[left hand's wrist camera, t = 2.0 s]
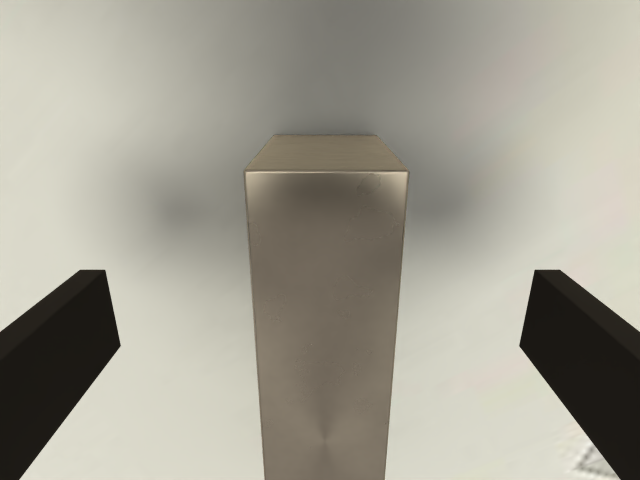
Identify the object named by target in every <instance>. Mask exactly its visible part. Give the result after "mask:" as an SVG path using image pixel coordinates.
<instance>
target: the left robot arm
mask: <svg viewBox="0 0 640 480" xmlns="http://www.w3.org/2000/svg"><path fill="white" fill-rule="evenodd" d="M120 346H121V345H120V340H119V335H118V330H117V325H116V320H115V315H114V311H113V306H112V301H111V296H110V291H109V286H108V281H107V276H106V271H105V270H79V271H78V272H77V273H75V274H74V275H73V276H72V277H70V278H69V279H68V280H66V281H65V282H64V283H63V284H61V285H60V286H59V287H57V288H56V289H55V290H54V291H52V292H51V293H50V294H48V295H47V296H46V297H45V298H43V299H42V300H41V301H39V302H38V303H37V304H36V305H34V306H33V307H32V308H30V309H29V310H28V311H27V312H25V313H24V314H23V315H21V316H20V317H19V318H18V319H16V320H15V321H14V322H12V323H11V324H10V325H9V326H7V327H6V328H5V329H3V330H2V331H1V332H0V480H19V479H20V478H21V477H22V475H23V474H24V473H25V471H26V470H27V469H28V467H29V466H30V465H31V464H32V462H33V461H34V460H35V458H36V457H37V456H38V454H39V453H40V452H41V450H42V449H43V448H44V446H45V445H46V444H47V442H48V441H49V440H50V438H51V437H52V436H53V435H54V433H55V432H56V431H57V429H58V428H59V427H60V425H61V424H62V423H63V421H64V420H65V419H66V417H67V416H68V415H69V413H70V412H71V411H72V409H73V408H74V407H75V406H76V404H77V403H78V402H79V400H80V399H81V398H82V396H83V395H84V394H85V392H86V391H87V390H88V388H89V387H90V386H91V384H92V383H93V382H94V380H95V379H96V378H97V377H98V375H99V374H100V373H101V371H102V370H103V369H104V367H105V366H106V365H107V363H108V362H109V361H110V359H111V358H112V357H113V355H114V354H115V353H116V351H117V350H118V349H119V348H120ZM519 346H520V348H521V349H522V350H523V351H524V353H525V354H526V355H527V357H528V358H529V359H530V361H531V362H532V363H533V365H534V366H535V367H536V369H537V370H538V371H539V373H540V374H541V375H542V377H543V378H544V379H545V380H546V382H547V383H548V384H549V386H550V387H551V388H552V390H553V391H554V392H555V394H556V395H557V396H558V398H559V399H560V400H561V402H562V403H563V404H564V406H565V407H566V408H567V409H568V411H569V412H570V413H571V415H572V416H573V417H574V419H575V420H576V421H577V423H578V424H579V425H580V427H581V428H582V429H583V431H584V432H585V433H586V435H587V436H588V437H589V438H590V440H591V441H592V442H593V444H594V445H595V446H596V448H597V449H598V450H599V452H600V453H601V454H602V456H603V457H604V458H605V460H606V461H607V462H608V464H609V465H610V466H611V467H612V469H613V470H614V471H615V473H616V474H617V475H618V477H619V478H620V479H621V480H640V332H639V331H638V330H637V329H635V328H634V327H633V326H631V325H630V324H629V323H628V322H626V321H625V320H624V319H622V318H621V317H620V316H619V315H617V314H616V313H615V312H613V311H612V310H611V309H610V308H608V307H607V306H606V305H604V304H603V303H602V302H601V301H599V300H598V299H597V298H595V297H594V296H593V295H592V294H590V293H589V292H588V291H586V290H585V289H584V288H583V287H581V286H580V285H579V284H577V283H576V282H575V281H574V280H572V279H571V278H570V277H568V276H567V275H566V274H565V273H563V272H562V271H561V270H535V271H534V276H533V281H532V286H531V291H530V296H529V301H528V306H527V311H526V315H525V320H524V325H523V330H522V335H521V340H520V345H519Z"/></svg>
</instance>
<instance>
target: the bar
mask: <svg viewBox="0 0 640 480" xmlns="http://www.w3.org/2000/svg"><path fill="white" fill-rule="evenodd" d="M408 182H409V170H408V169H407V168H406V167H405V166H404V165H403V164H402V162H401V161H400V160H399V159H398V158H397V157H396V156H395V155H394V154H393V153H392V152H391V150H390V149H389V148H388V147H387V146H386V145H385V144H384V143H383V142H382V141H381V139H380V138H379V137H378V136H377V135H274V136H273V137H272V138H271V139H270V140H269V141H268V143H267V144H266V145H265V146H264V147H263V148H262V150H261V151H260V152H259V153H258V154H257V156H256V157H255V158H254V159H253V160H252V161H251V163H250V164H249V165H248V166H247V167H246V168H245V170H244V187H245V201H246V216H247V230H248V245H249V259H250V274H251V288H252V303H253V317H254V332H255V347H256V361H257V376H258V390H259V405H260V419H261V434H262V448H263V463H264V477H265V480H385V469H386V456H387V444H388V431H389V419H390V406H391V394H392V381H393V369H394V356H395V344H396V332H397V319H398V307H399V294H400V282H401V269H402V257H403V244H404V232H405V219H406V207H407V194H408Z"/></svg>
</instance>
